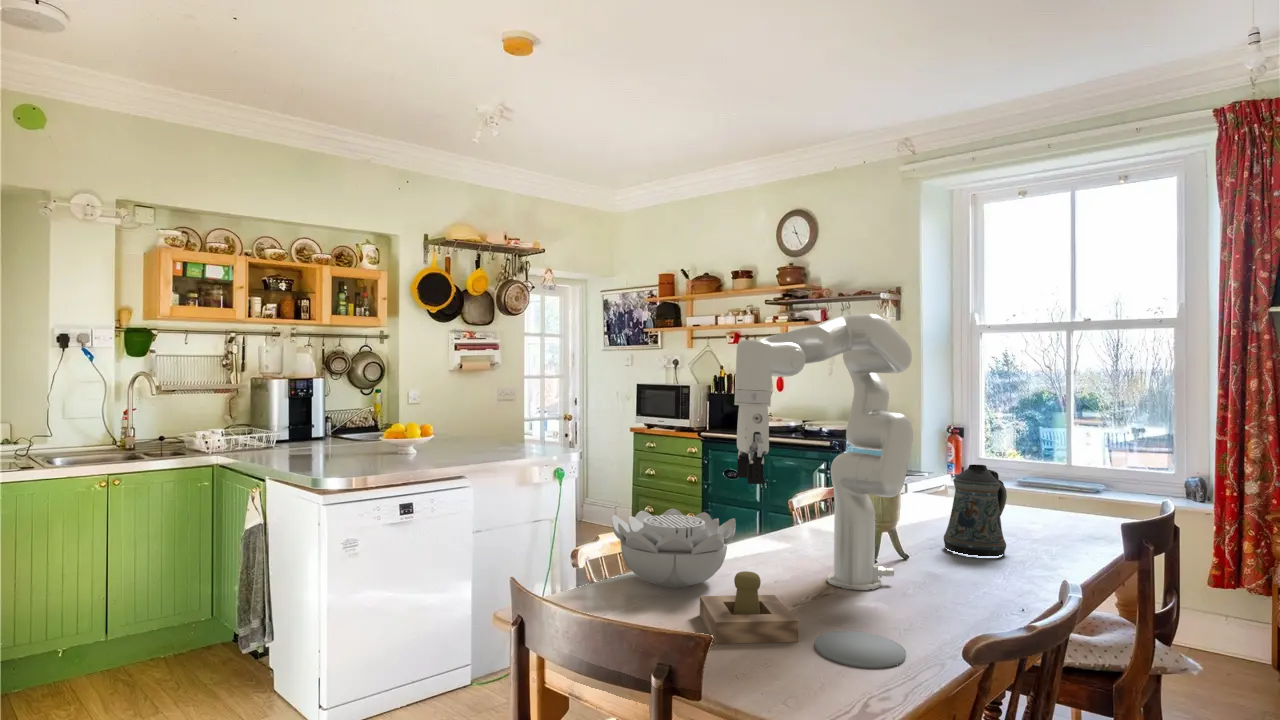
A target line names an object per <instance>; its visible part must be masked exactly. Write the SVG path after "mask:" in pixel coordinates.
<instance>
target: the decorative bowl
mask: <svg viewBox="0 0 1280 720" xmlns="http://www.w3.org/2000/svg"><path fill="white" fill-rule="evenodd" d="M611 517H612V520H611V522H612V523H611V525H612V528H611V529H612V531H613V534H614V535H615V537H616V538H617V539H618V540H620V550H621V554H622V558H623V560H624V562H625V564H626V566H627V567H628V569H629V570H631V572H632V573H634V574H635V575H636V576H637V578H640V579H641V580H643V581H645V582H648V583H651V584H653V585H656V586H660V587H666V588H684V587H685V588H686V587H691V586H694V585H699V584H701V583H704V582H706V581H708V580H709V579H711V578H712V577H713V576H714V575H715V574H716V573H717V572H718V571H719V570H720V569H721V567H722V565H723V563H724V561H725V558H726V554H727V552H728V551H727V550H728V544H729V542H731V541H732V540H733V538H734V537H735V534H736V528H737V523H736V518H730V519H728V520H727V521H724V522H723V523H722V524H721V525H720V520H719V519H720V518H713V519H712V517H711V515H710V514H709V513H707V512H700V513H698V514H696V515H695V516H689V515H684V514H683V513H682V512H681V511H680V510H678V509H676V508H670V509H666V511H664V512H663V513H662V514H661V515H660V514H659V515H652V514H650V513H649V512H648V511H645V510H640V511H639V512H637V513H636V515H635V516H631V515H630V516H628V523H626V522H625V521H624V520H623V519H622V518H620V517H619V516H618V515H615V514H614V515H612V516H611Z"/></svg>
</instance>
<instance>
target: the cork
mask: <svg viewBox="0 0 1280 720" xmlns="http://www.w3.org/2000/svg"><path fill="white" fill-rule="evenodd" d="M733 579H734V581H733V582H734V586H735V588H736V592H735V596H736V599H735V606H734V612H733V615H750V614H760V607H759V599H758V595H759V591H758V590H759V589H760V587H761V578H760V575H759V574H758V573H756V572H753V571H748V570H747V571H738V572H737V573H736V574H735V576H734V578H733Z"/></svg>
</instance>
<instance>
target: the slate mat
mask: <svg viewBox="0 0 1280 720" xmlns="http://www.w3.org/2000/svg"><path fill="white" fill-rule="evenodd" d="M814 644H815V646H814V647H815V650H816V652H817V653H818V654H819V655H821V656H823V657H824V658H826V659H828V660H830V661H832V662H836V663H839V664H842V665H846V666H850V667H854V668H855V667H856V668H864V669H882V668H881V667H888V668H890V667H889V666H893V667H895V666H894V665H897V664H899V663H901V662H903V661H904V659H905V658H906V659H907V651H906V649H905V648H904V646H903V645H901V643H898V641H895V640H893V639H891V638H888V637H885V636H882V635H879V634H875V633H869V632H865V631H863V632H862V631H855V630H837V631H829V632H826V633H823V634H821V635H819V636H818V637H817V638H816V639H815V643H814ZM906 659H905V660H906ZM904 662H905V661H904ZM904 662H903V663H904ZM901 664H902V663H901ZM899 665H900V664H899ZM897 666H898V665H897Z"/></svg>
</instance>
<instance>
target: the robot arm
mask: <svg viewBox="0 0 1280 720" xmlns="http://www.w3.org/2000/svg"><path fill="white" fill-rule="evenodd" d="M841 354H842V359H843V363H844V366H845V367H846V370H847V372H848V374H849V376H850V379H851V380H852V381H851V382H852V385H853V397H852V402H851V406H850V411H849V415H848V420H847V425H846V431H845V439H846V441H847V443H848V444H849V445H850V446H852V447H854V448H857V449H860V450H869V451H878V452H881V455H877V454H871V453H862V452H861V453H860V452H852V451H851V452H844V453H840V454H838V455H837V456H836V457H835V458H833V460H832V462H831V466H830V477H831V479H830V480H831V483H832V489H833V499H834V514H833V515H834V519H833V520H834V522H833V523H834V524H833V529H834V530H833V531H834V532H833V572H830V573H828V574H827V575H826V582H827V583H828V584H830V585H832V586H834V587H838V588H840V587H841V589H846V590H852V589H853V591H870V590H869V589H872V590H877V589H879V588H880V587H881V586H882V581H881V578H882V577H894V575H895V570H894V568H893V567H889V568H888V567H884V566H878V565H876V564H875V558H876V557H875V555H876V554H875V549H876V548H875V547H876V546H875V545H876V544H875V543H876V542H875V539H876V538H875V537H876V510H875V507H874V504H873V502H872V500H871V498H870V496H876V497H882V498H893V497H896V496H898V495H899V494H900V493H901V491H902V490H903V487H904V484H905V480H906V477H907V471H908V466H909V462H910V457H911V452H912V447H913V441H914V430H913V425H912V423H911V420H910V419H909V418H908V417H907V416H906V415H905V414H902V413H899V412H891V411H890V412H889V411H888V408H889V402H890V391H889V388H888V386H887V385H886V383H885V381H884V379H883V378H882V377H881V375H880V374H899V373H904V372H905V371H907V370H908V368H909V367H910V365H911V363H912V359H913V354H912V349H911V346H910V344H909V343H908V341H907V340H906V339H905V338H904V337H903V335H902V334H900V332H898V331H897V329H896V328H895V327H893V325H892V324H891V323H889V321H887V320H886V319H885V318H883V317H881V316H880V315H877V314H874V313H859V314H845V315H839V316H836V317H833V318H829V319H828V320H825V321H822V322H819V323H816V324H813V325H810V326H807V327H802V328H797V329H794V330H791V331H790V330H789V331H787V332H782V333H777V334H774V335H769V336H766V337H763V338H760V339H758V340H757V339H743V340H741V341H739V342H738V343H737V346H736V357H735V360H736V361H735V380H734V381H735V383H734V403H733V405H735V406H738V413H737V425H736V427H737V428H736V448H737V450H738V453H737V460H736V461H737V463H736V464H737V465H736V476H737V478H740V479H741V478H742V479H746V481H747V482H746V483H748V484H750V485H763V484H764V472H765V469H764V468H765V458H764V457H765V455H767V454H769V451H770V427H769V426H770V423H769V422H770V419H769V409H768V408H769V407H770V408H771V405H772V404H771V401H772V395H771V394H772V381H773V380H772V379H773V378H772V377H780V378H781V377H783V378H787V377H788V378H789V377H793V376H795V375H797V374H799V373H800V372H801V371H803V369H804V367H805V365H807V364H808V365H809V364H814V363H821V362H824V361H827V360H830V359H831V358H833V357H836V356H838V355H841ZM869 495H870V496H869ZM876 588H877V589H876Z"/></svg>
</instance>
